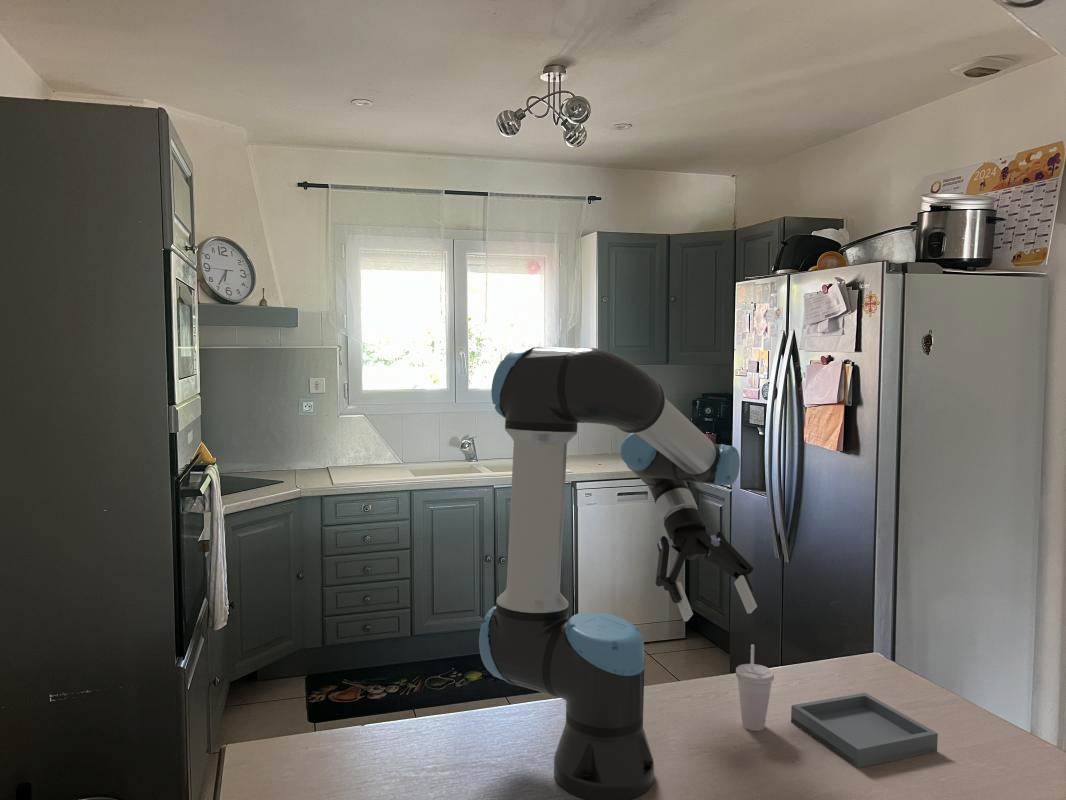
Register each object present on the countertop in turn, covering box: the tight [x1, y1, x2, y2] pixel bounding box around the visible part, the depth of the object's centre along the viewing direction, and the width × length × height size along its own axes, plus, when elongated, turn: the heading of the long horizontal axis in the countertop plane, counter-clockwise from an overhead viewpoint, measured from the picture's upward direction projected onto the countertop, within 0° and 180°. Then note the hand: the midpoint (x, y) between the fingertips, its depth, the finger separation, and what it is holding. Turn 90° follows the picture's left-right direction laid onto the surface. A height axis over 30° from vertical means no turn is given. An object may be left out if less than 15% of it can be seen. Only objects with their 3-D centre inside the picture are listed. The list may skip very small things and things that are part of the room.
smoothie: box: [735, 644, 775, 732], centre depth 135 cm, size 6×6×14 cm
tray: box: [790, 692, 939, 769], centre depth 132 cm, size 16×16×3 cm
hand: (721, 614), depth 145 cm, fingers open, 13 cm apart
